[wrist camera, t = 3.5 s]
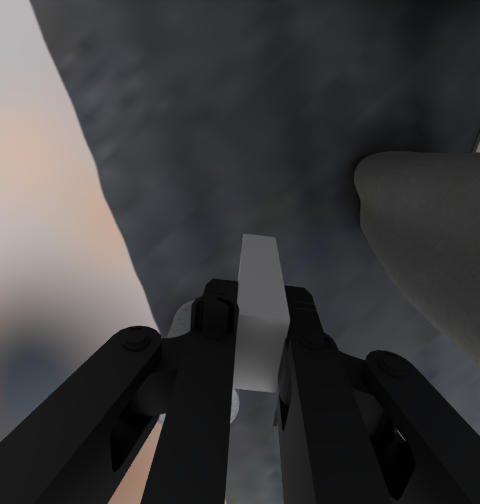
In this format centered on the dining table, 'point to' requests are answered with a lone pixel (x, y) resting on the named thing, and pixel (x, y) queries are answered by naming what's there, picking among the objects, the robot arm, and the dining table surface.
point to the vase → (428, 234)
